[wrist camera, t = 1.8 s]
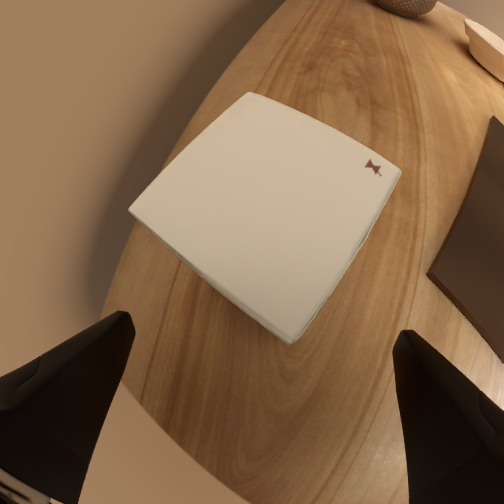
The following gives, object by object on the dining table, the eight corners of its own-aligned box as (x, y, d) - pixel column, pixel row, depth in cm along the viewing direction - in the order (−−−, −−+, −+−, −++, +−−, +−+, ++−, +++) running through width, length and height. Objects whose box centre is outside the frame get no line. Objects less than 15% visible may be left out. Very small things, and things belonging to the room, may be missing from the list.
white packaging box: (263, 211, 22) (251, 84, 10) (340, 264, 20) (411, 169, 8) (204, 282, 21) (120, 206, 9) (282, 343, 19) (296, 351, 7)
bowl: (466, 67, 29) (479, 39, 22) (447, 32, 35) (454, 9, 27) (534, 115, 26) (549, 94, 18) (507, 69, 31) (517, 50, 24)
